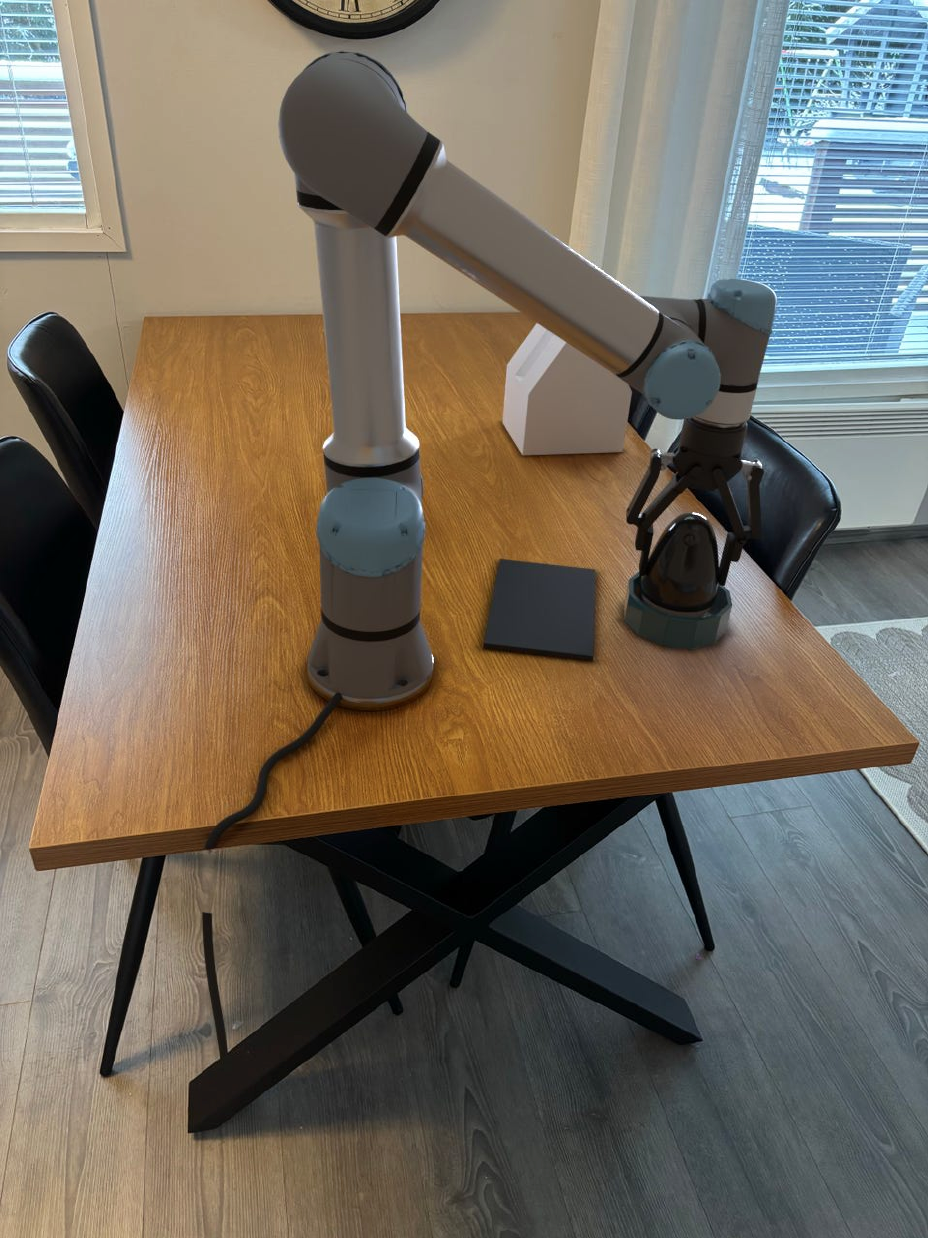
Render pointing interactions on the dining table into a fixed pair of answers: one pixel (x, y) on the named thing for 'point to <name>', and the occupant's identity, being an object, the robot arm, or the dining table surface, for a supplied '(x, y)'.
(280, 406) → the dining table surface
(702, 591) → the dark glossy rounded piece
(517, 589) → the rubber mat
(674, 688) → the dining table surface
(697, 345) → the robot arm
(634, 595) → the teal ring
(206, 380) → the dining table surface
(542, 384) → the white pentagonal block
